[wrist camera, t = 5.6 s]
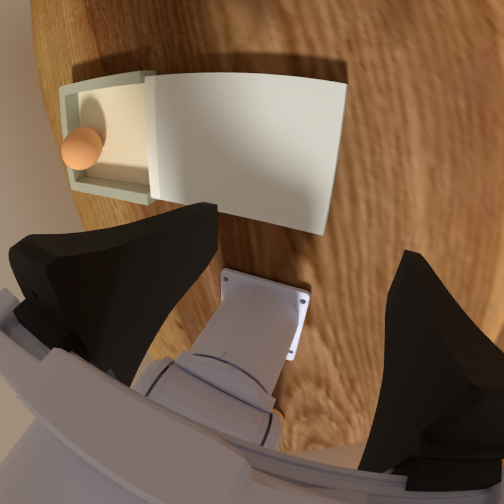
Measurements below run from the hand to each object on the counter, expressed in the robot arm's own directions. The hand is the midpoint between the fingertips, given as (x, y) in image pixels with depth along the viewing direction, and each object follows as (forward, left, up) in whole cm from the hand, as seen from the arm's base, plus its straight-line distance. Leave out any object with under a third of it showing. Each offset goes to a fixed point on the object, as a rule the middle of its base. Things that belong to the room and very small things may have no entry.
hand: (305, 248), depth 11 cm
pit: (+1, +20, -10) cm, 22 cm away
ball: (0, +22, -8) cm, 23 cm away
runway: (+1, +7, -10) cm, 12 cm away
